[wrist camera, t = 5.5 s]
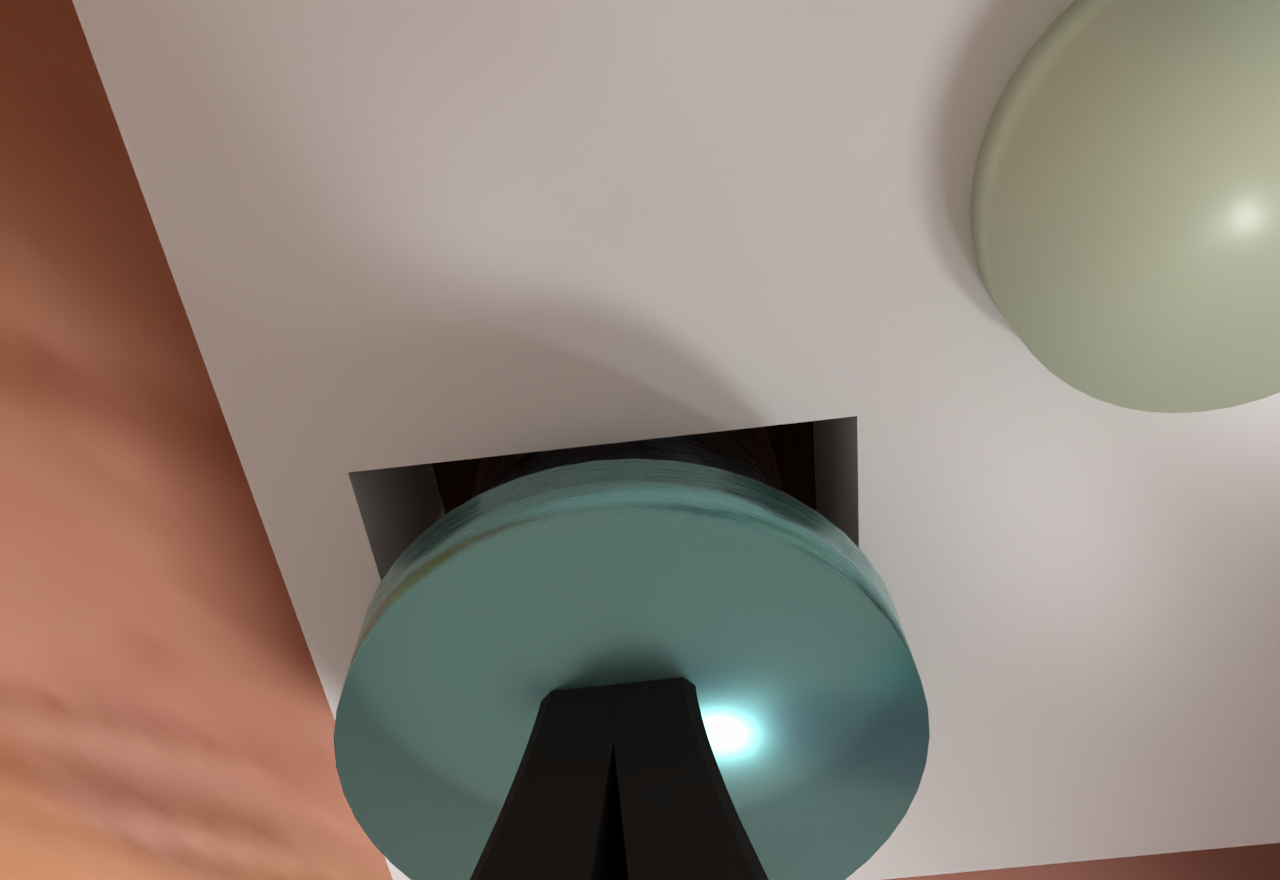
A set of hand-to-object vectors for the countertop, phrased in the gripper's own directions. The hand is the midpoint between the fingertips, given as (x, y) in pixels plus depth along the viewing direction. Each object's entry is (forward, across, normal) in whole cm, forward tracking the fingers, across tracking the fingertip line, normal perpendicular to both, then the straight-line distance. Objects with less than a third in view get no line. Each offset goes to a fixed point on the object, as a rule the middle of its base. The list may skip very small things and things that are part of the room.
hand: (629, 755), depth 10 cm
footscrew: (+5, 0, 0) cm, 5 cm away
